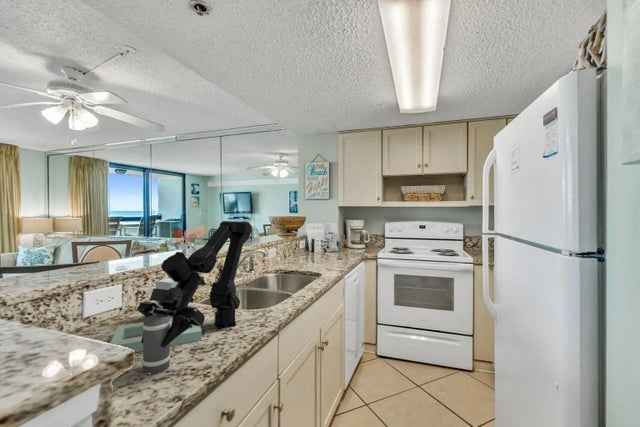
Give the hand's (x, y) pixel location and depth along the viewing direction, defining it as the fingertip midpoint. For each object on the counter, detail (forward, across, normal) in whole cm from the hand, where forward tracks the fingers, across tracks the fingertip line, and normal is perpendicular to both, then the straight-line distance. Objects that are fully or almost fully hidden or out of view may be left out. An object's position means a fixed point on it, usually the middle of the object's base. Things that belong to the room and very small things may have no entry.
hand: (152, 345), depth 73 cm
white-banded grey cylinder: (+4, 0, +6) cm, 7 cm away
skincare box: (-16, -24, +26) cm, 39 cm away
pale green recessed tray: (-6, -14, +16) cm, 22 cm away
